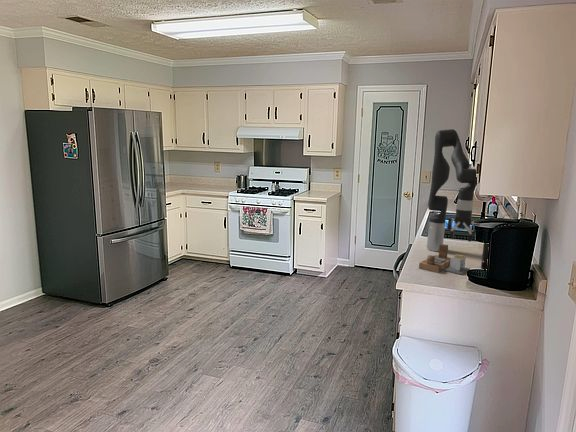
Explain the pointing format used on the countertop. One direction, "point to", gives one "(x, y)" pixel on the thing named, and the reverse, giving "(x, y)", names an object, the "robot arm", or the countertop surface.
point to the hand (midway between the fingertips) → (460, 239)
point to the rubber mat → (457, 271)
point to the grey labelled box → (457, 262)
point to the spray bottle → (484, 256)
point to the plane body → (436, 260)
